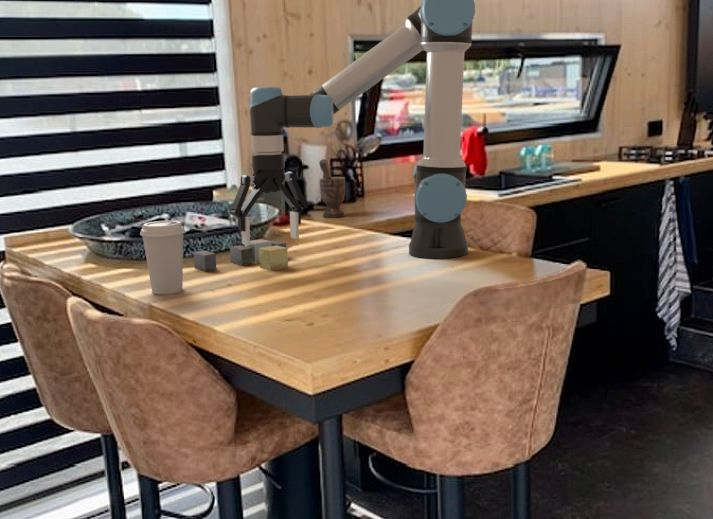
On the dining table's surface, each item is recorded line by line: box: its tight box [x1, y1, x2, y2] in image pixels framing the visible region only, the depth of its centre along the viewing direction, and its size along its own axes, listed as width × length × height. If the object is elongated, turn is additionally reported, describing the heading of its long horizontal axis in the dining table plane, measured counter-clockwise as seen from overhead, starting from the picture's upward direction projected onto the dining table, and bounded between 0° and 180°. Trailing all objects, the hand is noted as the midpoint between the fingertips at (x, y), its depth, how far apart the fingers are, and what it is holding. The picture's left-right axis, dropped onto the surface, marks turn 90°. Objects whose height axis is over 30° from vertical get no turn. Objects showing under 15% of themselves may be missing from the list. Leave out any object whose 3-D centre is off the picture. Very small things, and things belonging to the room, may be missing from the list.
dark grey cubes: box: [193, 239, 287, 272], centre depth 213 cm, size 6×23×4 cm, turn 126°
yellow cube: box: [259, 245, 289, 272], centre depth 206 cm, size 5×5×5 cm
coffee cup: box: [139, 220, 186, 296], centre depth 184 cm, size 10×10×15 cm
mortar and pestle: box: [319, 158, 346, 219], centre depth 285 cm, size 12×9×20 cm
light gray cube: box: [244, 238, 272, 264], centre depth 216 cm, size 5×5×5 cm
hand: (270, 241), depth 205 cm, fingers open, 13 cm apart
